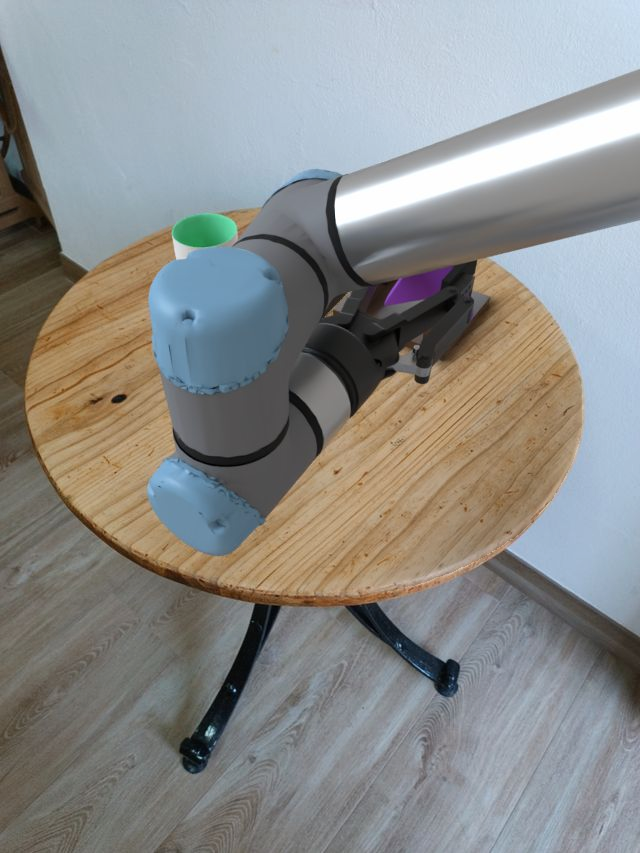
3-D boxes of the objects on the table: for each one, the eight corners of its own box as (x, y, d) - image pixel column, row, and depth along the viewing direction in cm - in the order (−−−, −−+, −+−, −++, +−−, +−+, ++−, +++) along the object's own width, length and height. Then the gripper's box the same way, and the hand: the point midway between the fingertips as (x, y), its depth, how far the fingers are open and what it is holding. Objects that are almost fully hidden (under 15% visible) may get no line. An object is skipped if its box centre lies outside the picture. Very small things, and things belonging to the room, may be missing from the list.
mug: (254, 329, 88) (249, 260, 81) (192, 340, 87) (180, 270, 79) (237, 277, 96) (230, 209, 89) (179, 286, 95) (167, 218, 87)
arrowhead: (422, 347, 73) (360, 279, 69) (425, 338, 74) (365, 270, 70) (502, 305, 66) (439, 227, 63) (504, 296, 67) (442, 218, 64)
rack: (489, 303, 92) (495, 277, 89) (442, 361, 84) (447, 334, 81) (385, 266, 98) (387, 240, 95) (332, 316, 90) (333, 289, 87)
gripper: (224, 379, 60) (360, 255, 73) (414, 468, 53) (525, 313, 66) (215, 309, 54) (364, 188, 68) (425, 398, 47) (544, 245, 61)
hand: (444, 250), depth 67 cm, fingers closed on arrowhead, 5 cm apart
